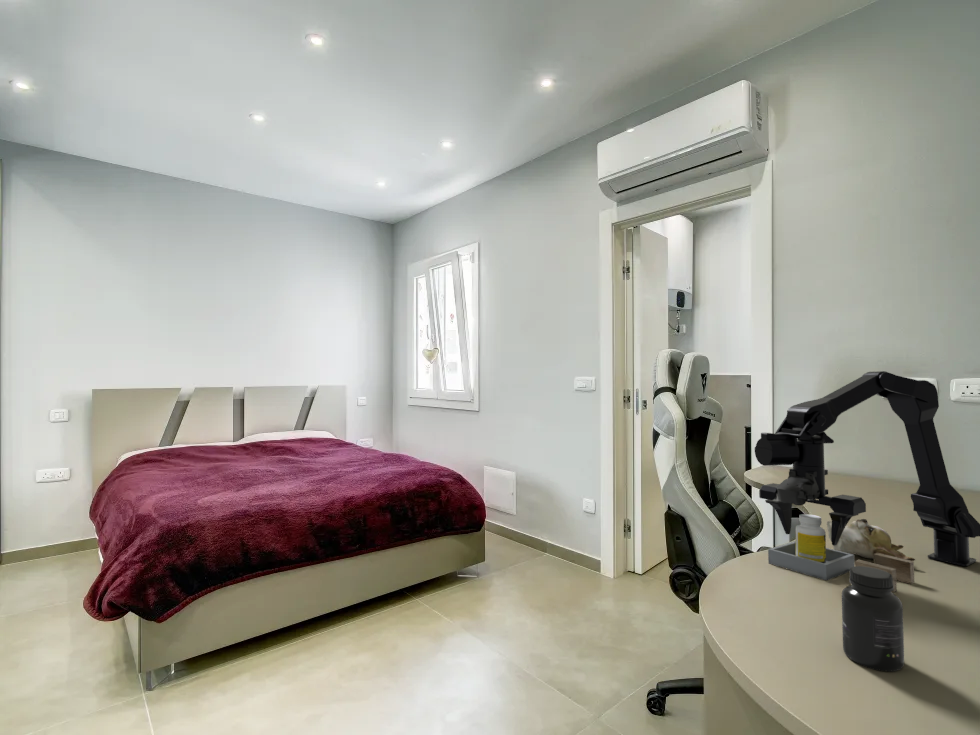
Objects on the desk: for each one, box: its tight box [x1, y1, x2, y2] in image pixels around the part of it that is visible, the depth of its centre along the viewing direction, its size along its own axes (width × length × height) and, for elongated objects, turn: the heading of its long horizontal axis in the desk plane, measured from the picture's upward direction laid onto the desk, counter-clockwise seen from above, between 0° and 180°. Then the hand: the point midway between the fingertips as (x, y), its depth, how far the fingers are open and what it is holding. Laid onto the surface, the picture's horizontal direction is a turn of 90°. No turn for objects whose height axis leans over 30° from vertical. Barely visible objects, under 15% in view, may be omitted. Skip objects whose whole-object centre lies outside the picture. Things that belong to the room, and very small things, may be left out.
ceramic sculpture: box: [826, 518, 916, 562], centre depth 113 cm, size 11×9×15 cm
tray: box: [767, 540, 855, 581], centre depth 107 cm, size 11×11×3 cm
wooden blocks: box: [854, 553, 915, 594], centre depth 98 cm, size 9×6×4 cm, turn 121°
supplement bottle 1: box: [794, 513, 827, 563], centre depth 107 cm, size 5×5×10 cm
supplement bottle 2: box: [841, 566, 905, 673], centre depth 70 cm, size 7×7×12 cm
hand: (810, 539), depth 107 cm, fingers open, 9 cm apart
